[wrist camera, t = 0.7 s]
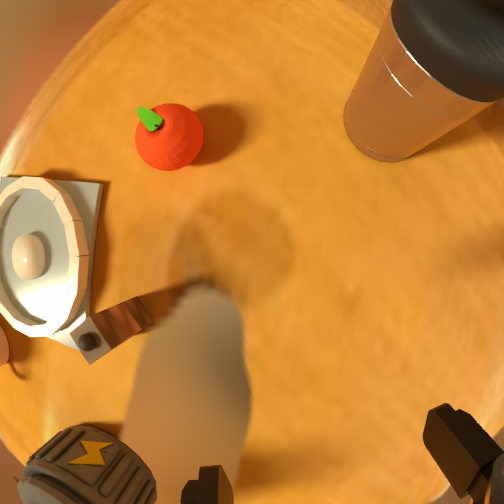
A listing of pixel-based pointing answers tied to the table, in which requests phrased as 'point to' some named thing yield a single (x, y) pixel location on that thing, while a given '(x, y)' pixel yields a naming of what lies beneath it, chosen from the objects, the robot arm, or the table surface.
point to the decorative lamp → (86, 471)
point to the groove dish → (47, 254)
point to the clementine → (168, 136)
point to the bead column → (110, 328)
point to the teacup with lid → (3, 347)
